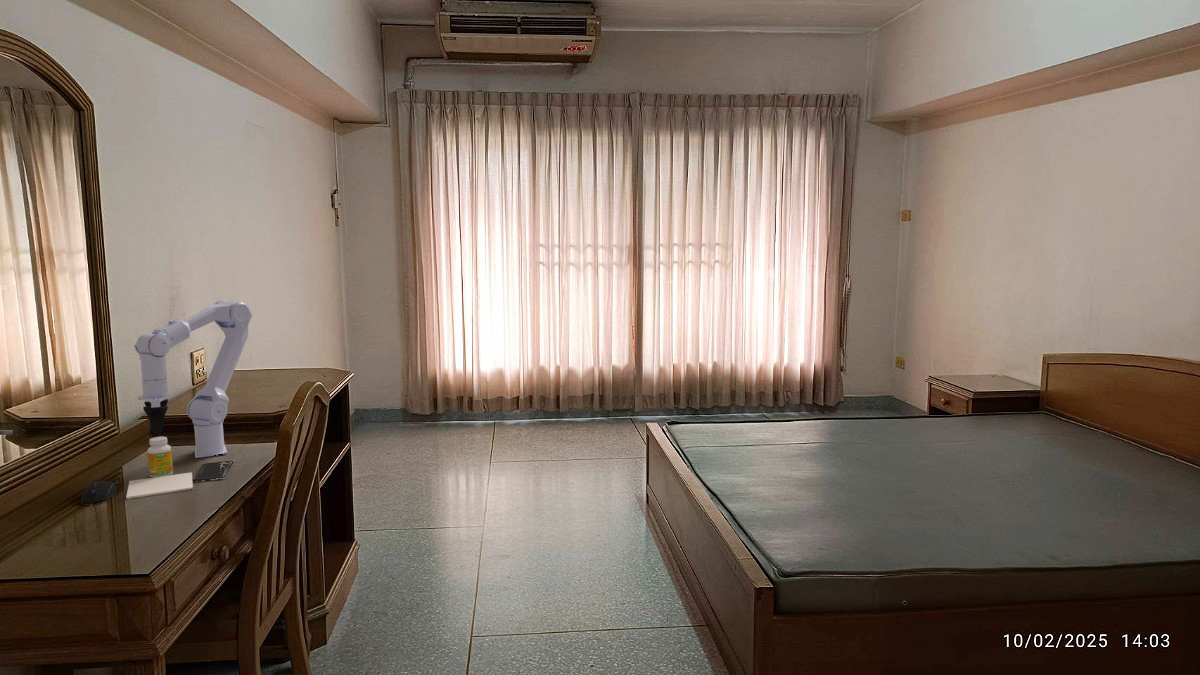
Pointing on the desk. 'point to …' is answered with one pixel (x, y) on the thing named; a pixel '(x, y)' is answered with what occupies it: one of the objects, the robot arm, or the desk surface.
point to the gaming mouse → (98, 492)
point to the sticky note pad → (159, 485)
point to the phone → (212, 471)
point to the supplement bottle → (160, 457)
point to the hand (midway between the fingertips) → (157, 429)
